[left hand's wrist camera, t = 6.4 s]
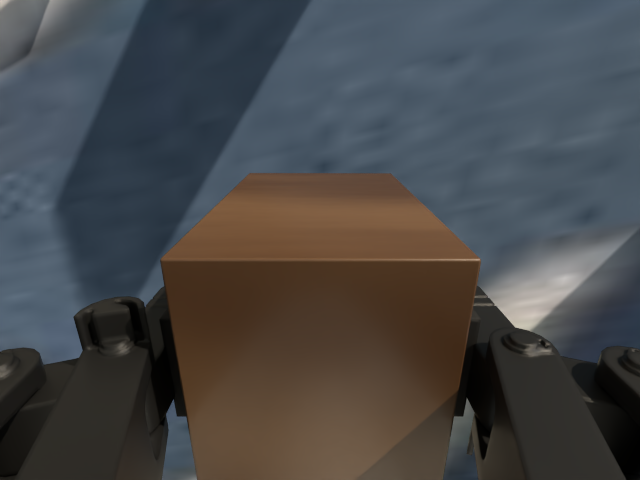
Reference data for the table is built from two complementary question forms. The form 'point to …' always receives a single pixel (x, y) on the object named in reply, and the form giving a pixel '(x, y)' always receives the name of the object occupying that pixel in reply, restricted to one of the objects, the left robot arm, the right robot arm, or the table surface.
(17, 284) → the table surface
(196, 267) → the bar
